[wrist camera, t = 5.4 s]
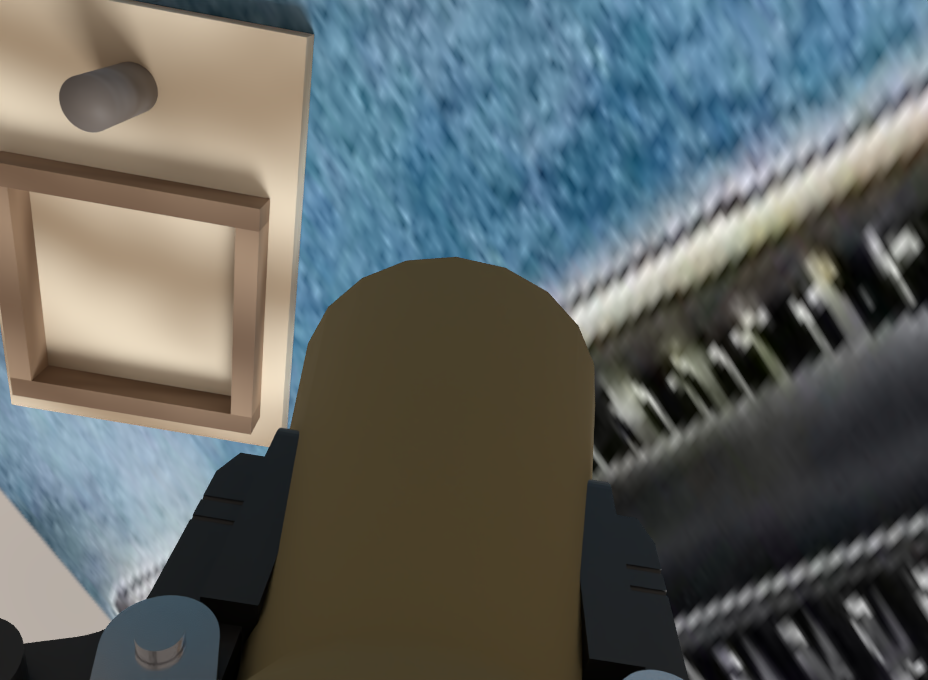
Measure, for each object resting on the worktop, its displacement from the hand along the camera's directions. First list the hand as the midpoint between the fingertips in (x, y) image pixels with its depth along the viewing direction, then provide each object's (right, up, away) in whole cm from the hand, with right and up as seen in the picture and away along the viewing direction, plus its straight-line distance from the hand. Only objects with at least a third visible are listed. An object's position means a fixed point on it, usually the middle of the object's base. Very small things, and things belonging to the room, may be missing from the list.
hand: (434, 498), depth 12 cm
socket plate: (-11, +6, +15) cm, 20 cm away
